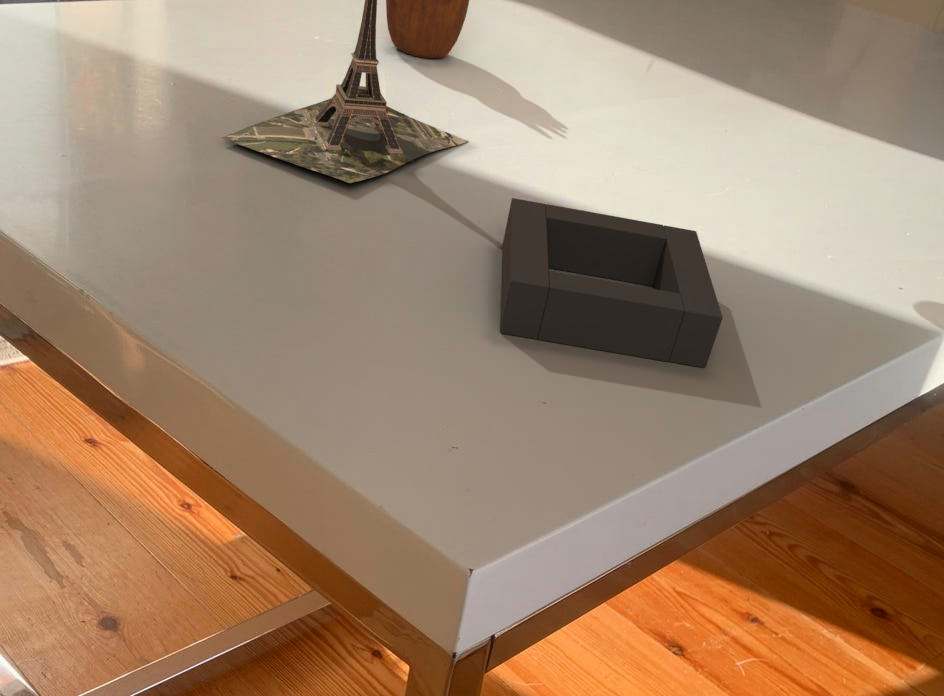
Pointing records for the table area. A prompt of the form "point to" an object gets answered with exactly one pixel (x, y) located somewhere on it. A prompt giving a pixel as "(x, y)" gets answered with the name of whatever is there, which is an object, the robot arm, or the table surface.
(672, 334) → the dark square frame
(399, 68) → the table surface
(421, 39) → the wooden figurine
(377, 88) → the eiffel tower figurine
